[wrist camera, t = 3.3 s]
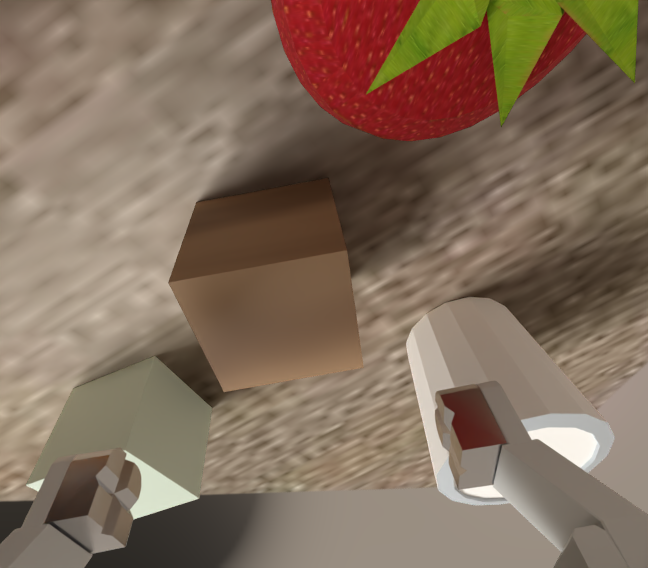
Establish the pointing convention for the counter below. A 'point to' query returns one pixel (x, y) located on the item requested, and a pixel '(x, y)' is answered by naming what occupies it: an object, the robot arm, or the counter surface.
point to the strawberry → (440, 55)
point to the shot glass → (512, 374)
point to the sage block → (137, 431)
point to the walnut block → (269, 286)
